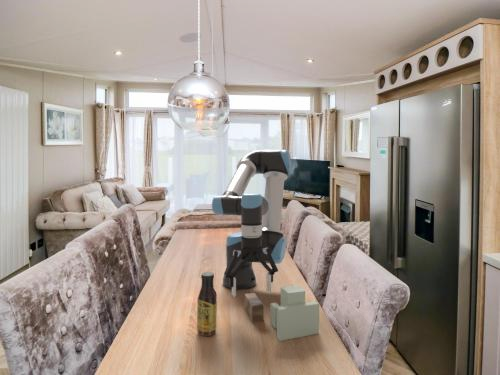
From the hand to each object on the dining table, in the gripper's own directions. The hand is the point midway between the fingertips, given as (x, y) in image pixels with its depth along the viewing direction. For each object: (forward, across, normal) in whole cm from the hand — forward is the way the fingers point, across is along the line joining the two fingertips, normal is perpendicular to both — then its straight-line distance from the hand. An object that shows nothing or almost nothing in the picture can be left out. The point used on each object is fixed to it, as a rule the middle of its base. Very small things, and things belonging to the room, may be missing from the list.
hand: (251, 293), depth 130 cm
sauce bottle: (+8, -19, -9) cm, 22 cm away
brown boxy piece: (+8, 0, -2) cm, 8 cm away
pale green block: (+8, +8, -17) cm, 20 cm away
